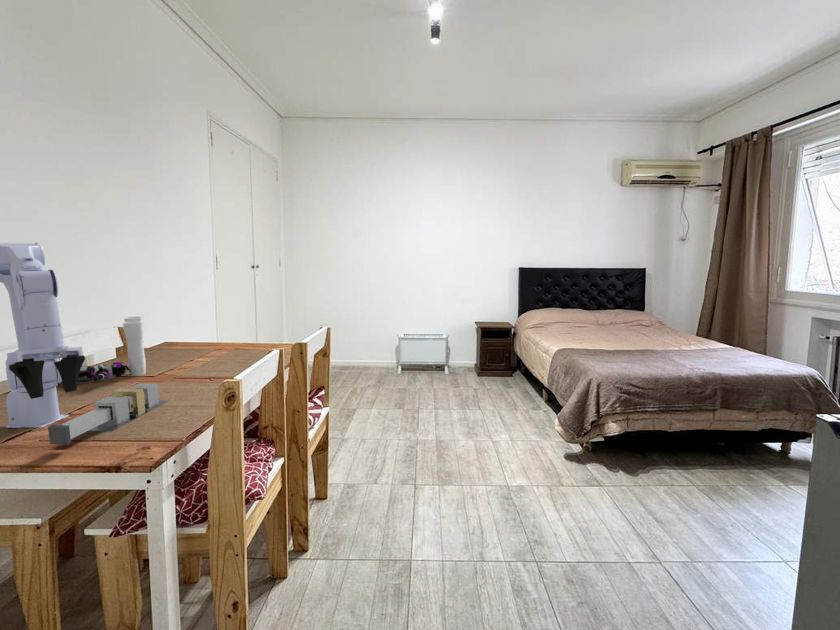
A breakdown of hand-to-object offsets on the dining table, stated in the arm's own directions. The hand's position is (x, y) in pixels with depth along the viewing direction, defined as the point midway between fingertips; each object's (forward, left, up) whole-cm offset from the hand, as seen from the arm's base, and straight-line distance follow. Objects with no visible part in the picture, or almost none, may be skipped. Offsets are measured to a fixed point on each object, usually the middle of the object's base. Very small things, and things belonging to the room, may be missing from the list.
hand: (54, 394), depth 91 cm
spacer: (-2, +22, -13) cm, 25 cm away
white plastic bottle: (-31, +63, -13) cm, 71 cm away
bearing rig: (-2, +22, -13) cm, 25 cm away
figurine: (-39, +49, -14) cm, 64 cm away
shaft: (-2, +11, -11) cm, 15 cm away
